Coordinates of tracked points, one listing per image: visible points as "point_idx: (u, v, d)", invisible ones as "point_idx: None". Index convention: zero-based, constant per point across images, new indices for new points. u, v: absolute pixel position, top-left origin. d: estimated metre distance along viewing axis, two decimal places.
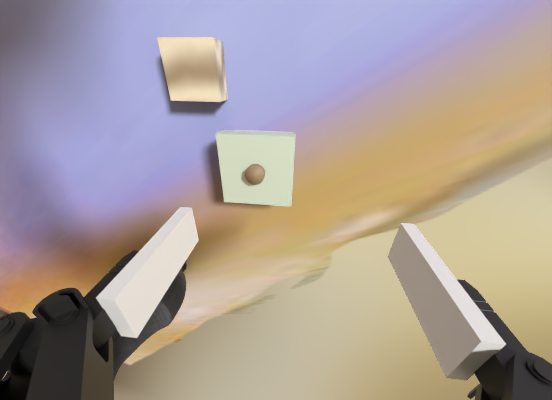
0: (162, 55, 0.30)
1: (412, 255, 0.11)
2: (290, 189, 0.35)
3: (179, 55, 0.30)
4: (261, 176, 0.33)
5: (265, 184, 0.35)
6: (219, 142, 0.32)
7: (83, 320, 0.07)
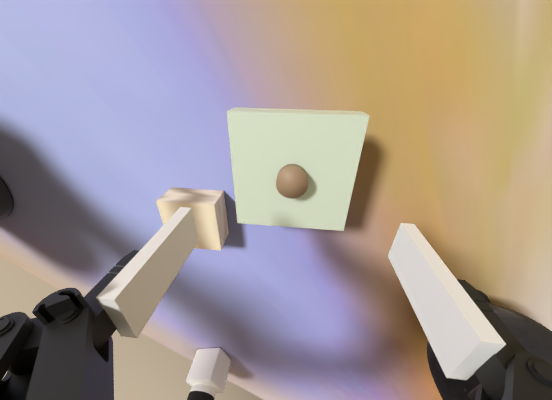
0: None
1: (412, 255, 0.11)
2: (328, 117, 0.18)
3: None
4: (292, 173, 0.19)
5: (315, 164, 0.20)
6: (248, 220, 0.24)
7: (83, 320, 0.07)
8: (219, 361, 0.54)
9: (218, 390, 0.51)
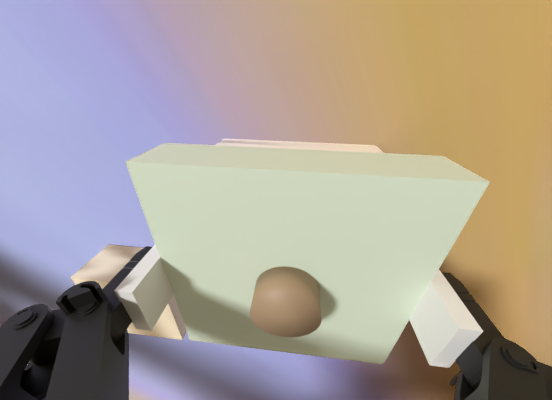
0: None
1: None
2: (376, 183, 0.07)
3: None
4: (285, 301, 0.08)
5: (336, 269, 0.09)
6: (208, 338, 0.13)
7: (102, 313, 0.08)
8: None
9: None
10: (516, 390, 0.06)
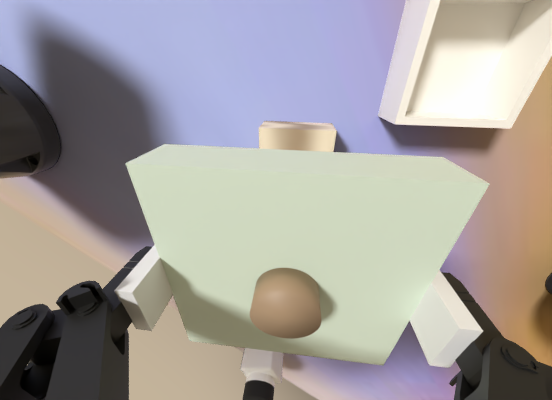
0: None
1: None
2: (376, 185, 0.07)
3: None
4: (285, 302, 0.08)
5: (336, 271, 0.09)
6: (208, 339, 0.13)
7: (102, 313, 0.08)
8: None
9: (276, 380, 0.45)
10: (516, 390, 0.06)
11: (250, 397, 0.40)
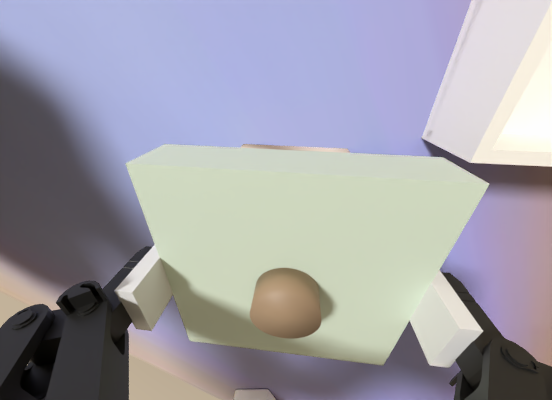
0: None
1: None
2: (376, 185, 0.07)
3: None
4: (285, 302, 0.08)
5: (336, 271, 0.09)
6: (208, 339, 0.13)
7: (102, 313, 0.08)
8: None
9: None
10: (516, 390, 0.06)
11: None
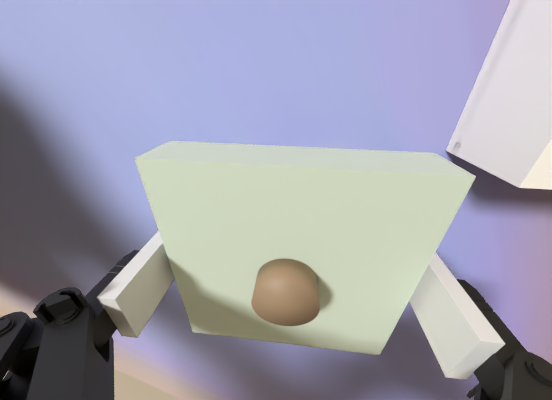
0: None
1: None
2: (370, 178, 0.07)
3: None
4: (285, 290, 0.09)
5: (334, 261, 0.10)
6: (211, 330, 0.14)
7: (83, 320, 0.07)
8: None
9: None
10: None
11: None
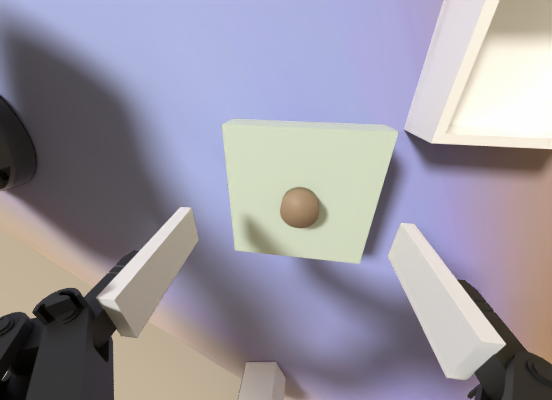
0: None
1: (412, 255, 0.11)
2: (345, 133, 0.14)
3: None
4: (300, 199, 0.16)
5: (328, 188, 0.16)
6: (247, 248, 0.21)
7: (83, 320, 0.07)
8: (276, 379, 0.43)
9: None
10: None
11: None
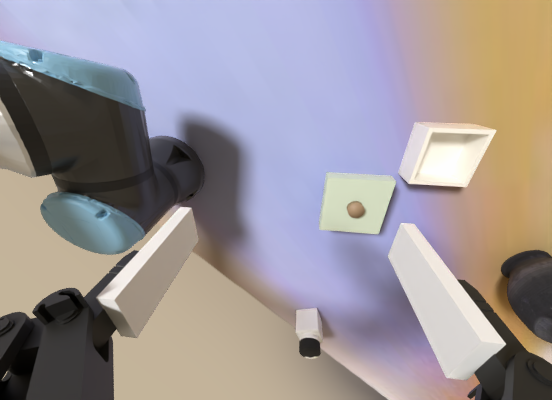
0: None
1: (412, 255, 0.11)
2: (376, 181, 0.38)
3: None
4: (357, 206, 0.39)
5: (367, 201, 0.40)
6: (326, 228, 0.44)
7: (83, 320, 0.07)
8: (318, 318, 0.67)
9: (320, 339, 0.64)
10: None
11: (306, 347, 0.60)
